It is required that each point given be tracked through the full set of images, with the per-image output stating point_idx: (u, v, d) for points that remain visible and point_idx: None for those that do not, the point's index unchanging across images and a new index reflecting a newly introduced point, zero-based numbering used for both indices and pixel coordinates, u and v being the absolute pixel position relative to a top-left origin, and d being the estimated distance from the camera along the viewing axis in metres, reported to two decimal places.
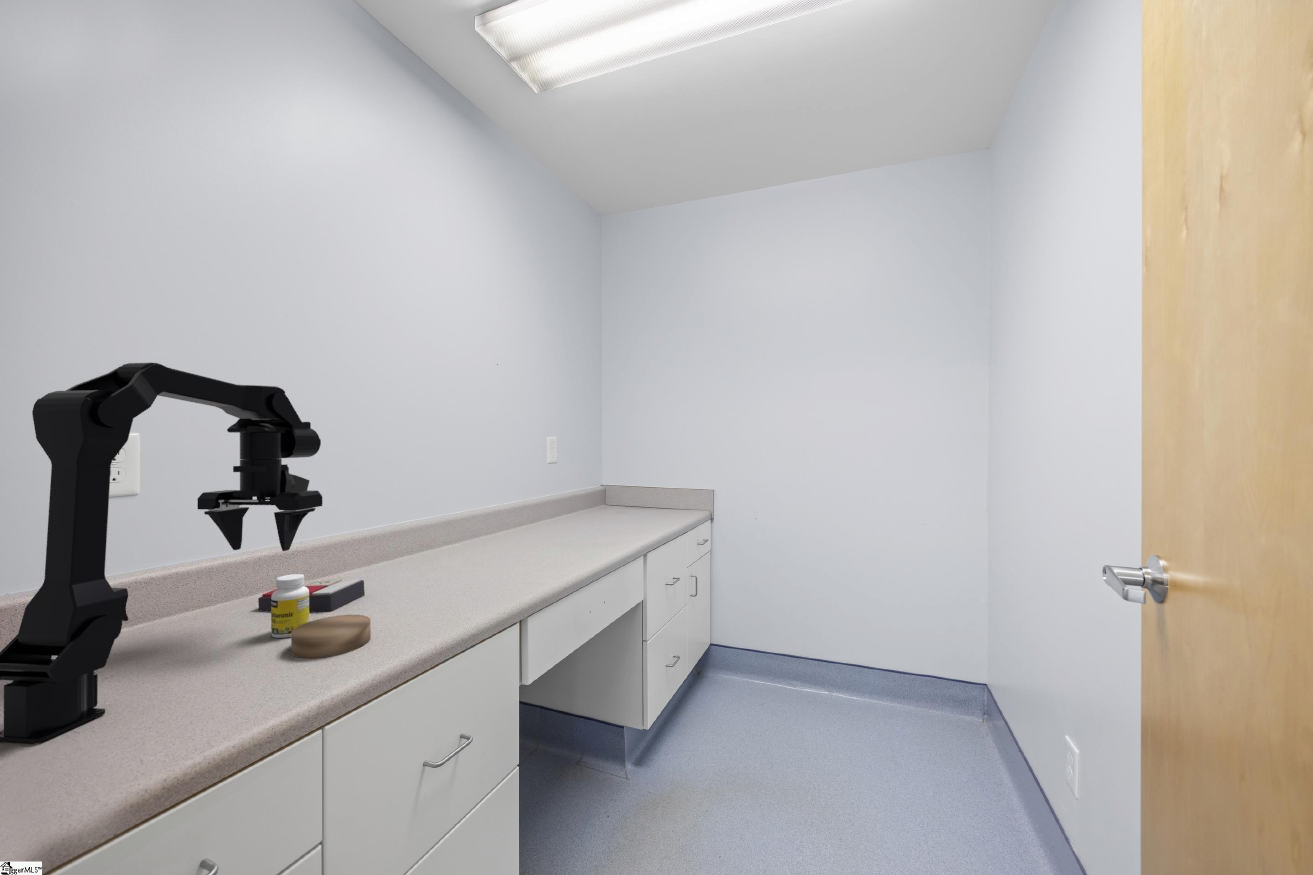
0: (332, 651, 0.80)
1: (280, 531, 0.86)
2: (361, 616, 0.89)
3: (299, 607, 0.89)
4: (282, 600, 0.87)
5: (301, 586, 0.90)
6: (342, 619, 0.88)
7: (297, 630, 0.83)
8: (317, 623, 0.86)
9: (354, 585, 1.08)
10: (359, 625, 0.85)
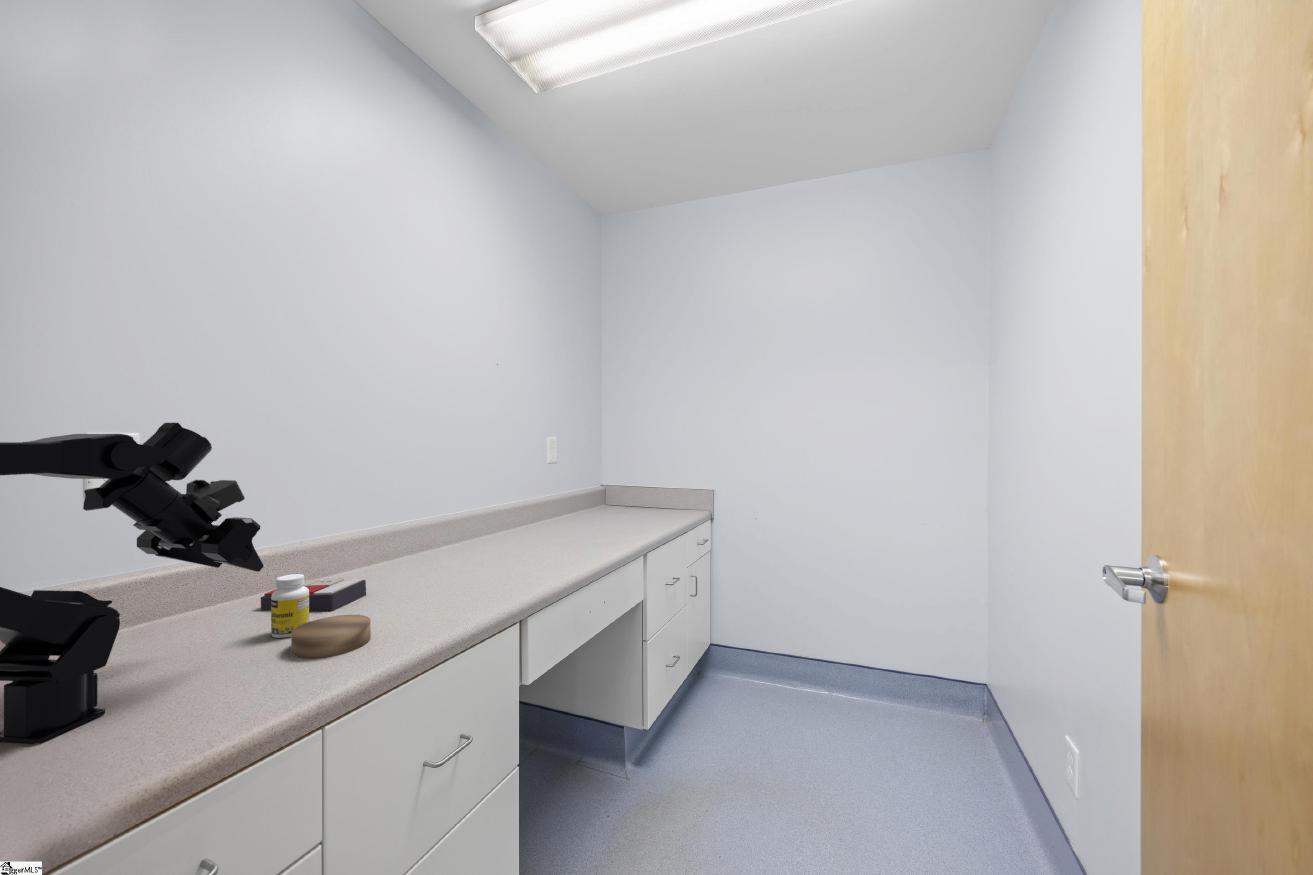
0: (332, 651, 0.80)
1: (237, 566, 0.77)
2: (361, 616, 0.89)
3: (299, 607, 0.89)
4: (282, 600, 0.87)
5: (301, 586, 0.90)
6: (342, 619, 0.88)
7: (297, 630, 0.83)
8: (317, 623, 0.86)
9: (356, 585, 1.08)
10: (359, 625, 0.85)
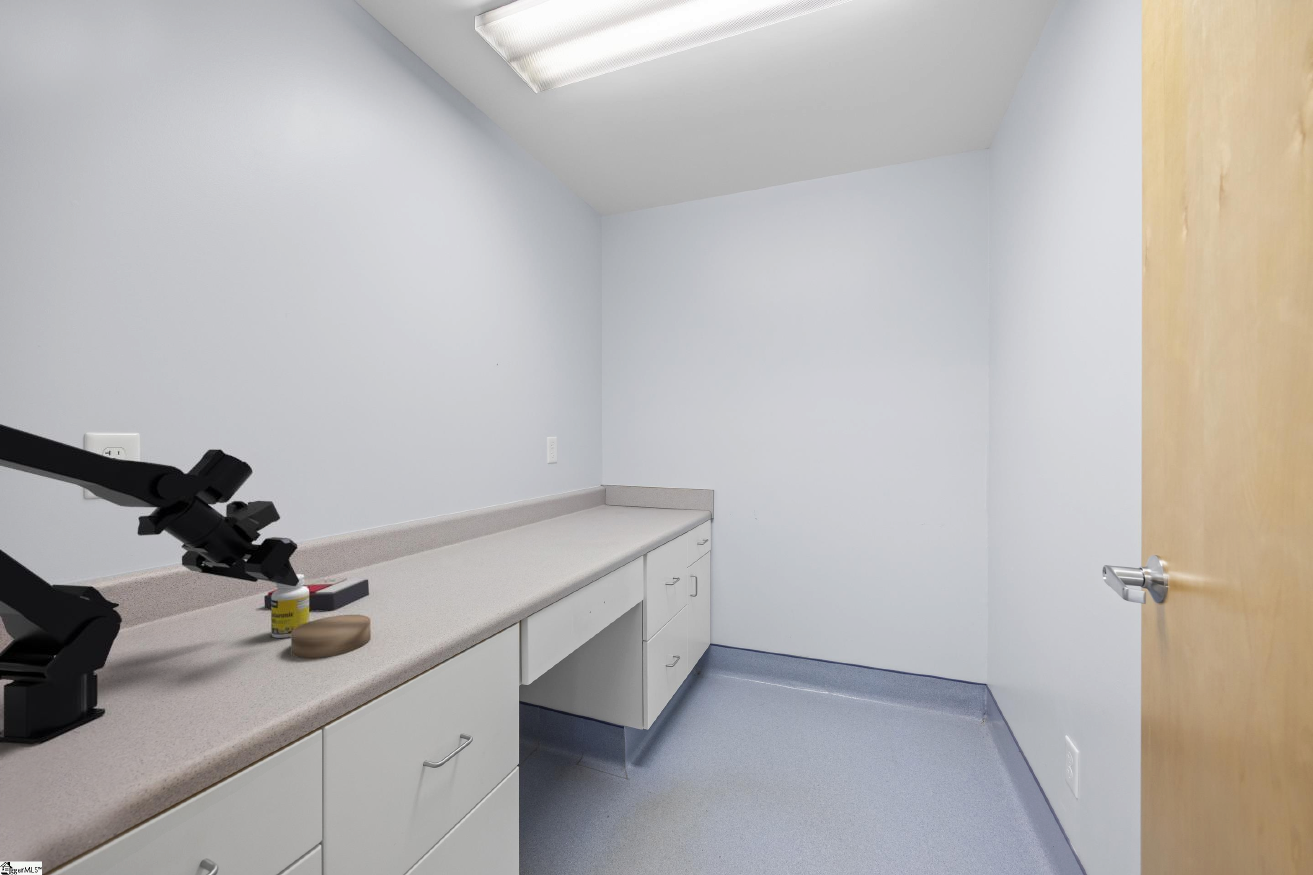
0: (332, 651, 0.80)
1: (276, 582, 0.82)
2: (361, 616, 0.89)
3: (300, 607, 0.89)
4: (282, 600, 0.87)
5: (301, 586, 0.90)
6: (342, 619, 0.88)
7: (297, 630, 0.83)
8: (317, 623, 0.86)
9: (358, 584, 1.09)
10: (359, 625, 0.85)
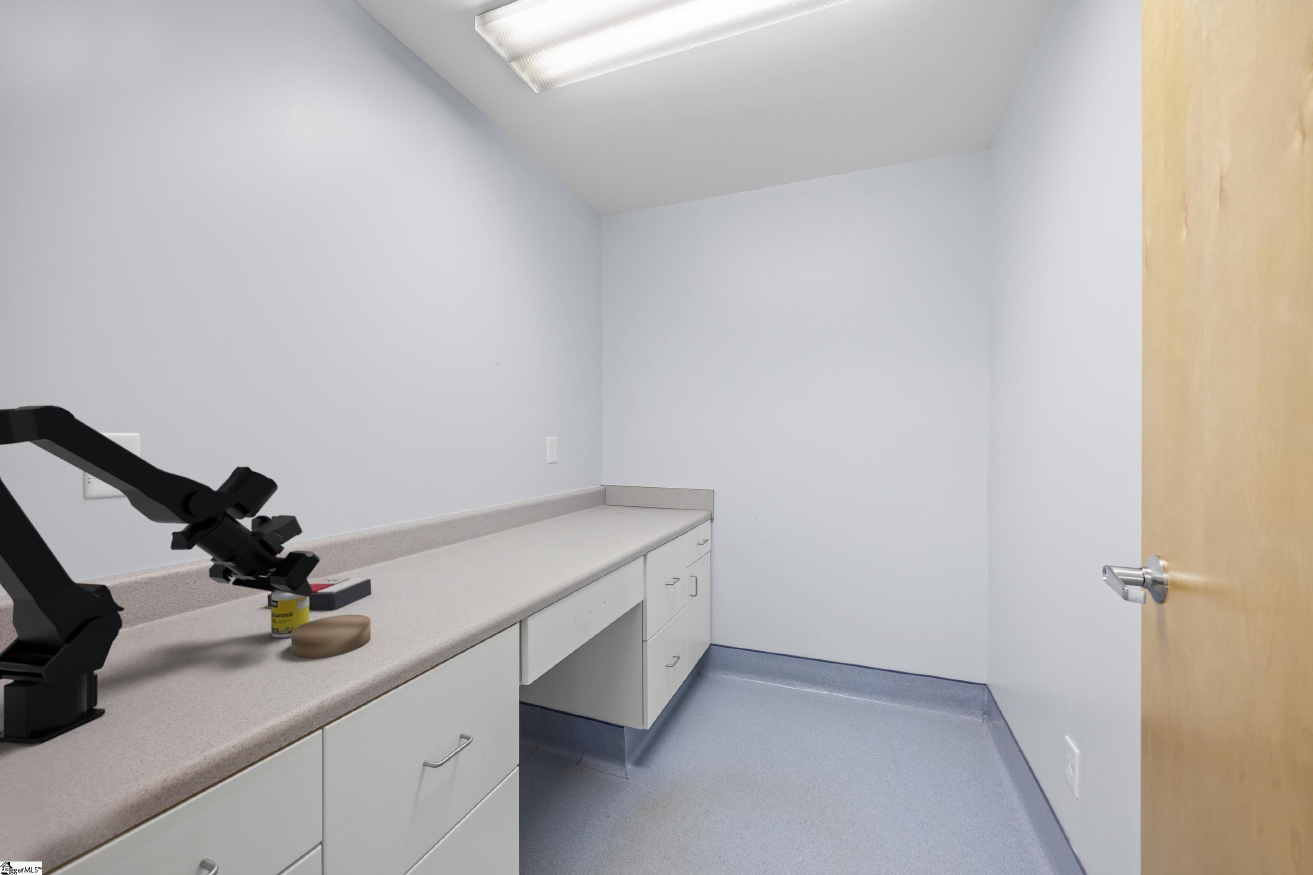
0: (332, 651, 0.80)
1: (291, 593, 0.86)
2: (361, 616, 0.89)
3: (300, 607, 0.89)
4: (282, 600, 0.87)
5: None
6: (342, 619, 0.88)
7: (297, 630, 0.83)
8: (317, 623, 0.86)
9: (360, 584, 1.09)
10: (359, 625, 0.85)
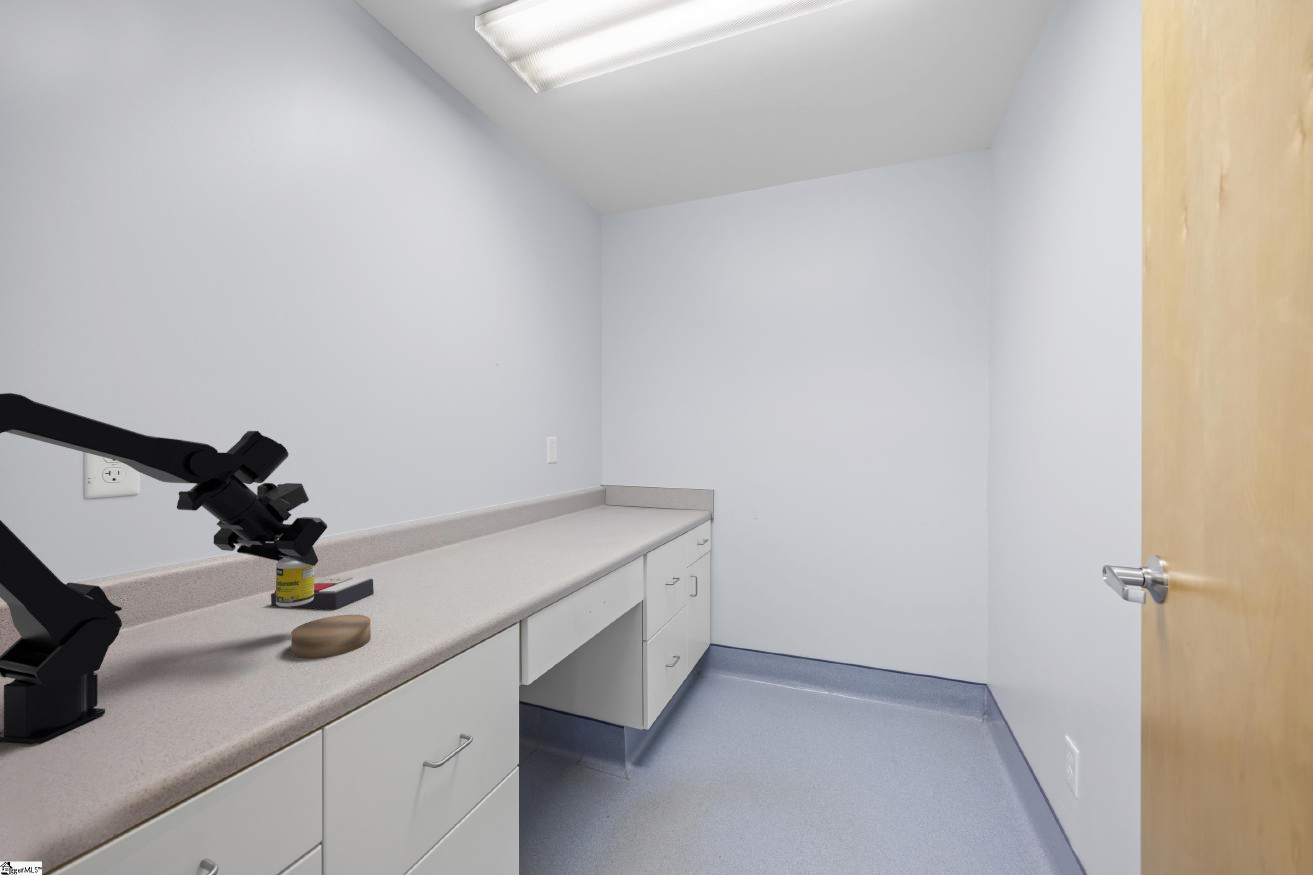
0: (332, 651, 0.80)
1: (297, 560, 0.85)
2: (361, 616, 0.89)
3: (305, 576, 0.88)
4: (288, 568, 0.86)
5: None
6: (342, 619, 0.88)
7: (297, 630, 0.83)
8: (317, 623, 0.86)
9: (362, 584, 1.09)
10: (359, 625, 0.85)
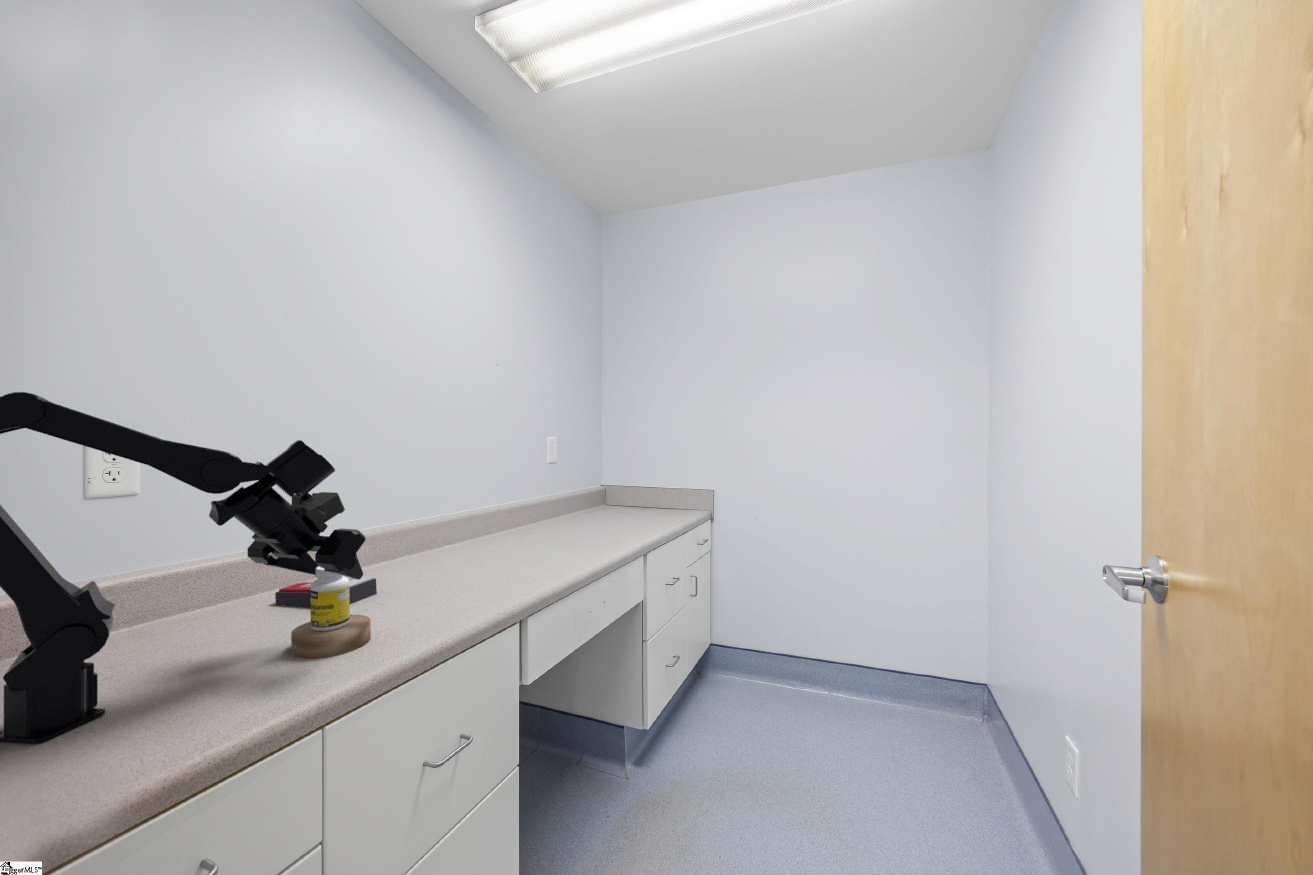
0: (332, 651, 0.80)
1: (343, 575, 0.81)
2: (361, 616, 0.89)
3: (340, 599, 0.83)
4: (322, 591, 0.82)
5: (341, 576, 0.85)
6: None
7: (297, 630, 0.83)
8: None
9: (364, 583, 1.10)
10: (359, 625, 0.85)
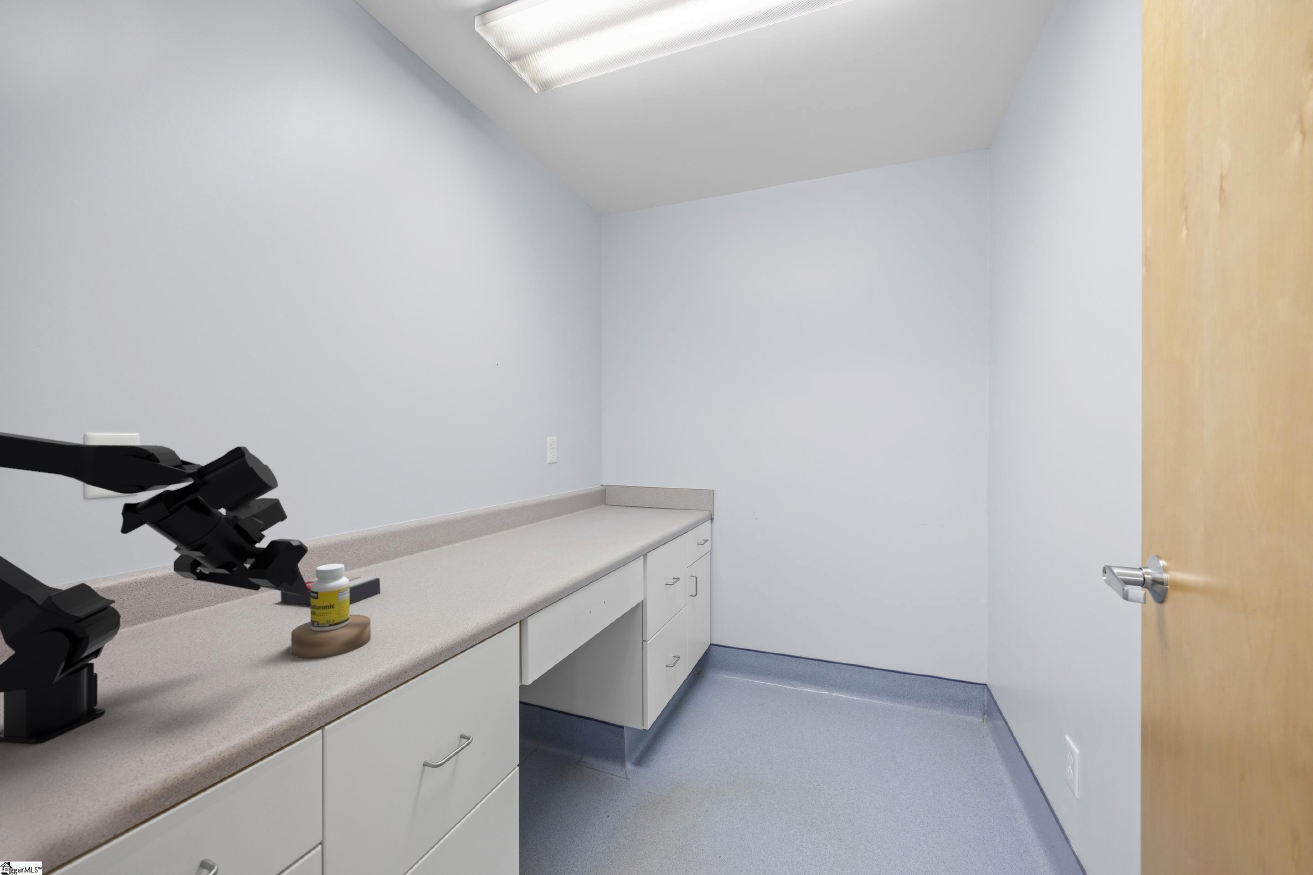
0: (332, 651, 0.80)
1: (283, 591, 0.72)
2: (361, 616, 0.89)
3: (341, 599, 0.83)
4: (323, 591, 0.82)
5: (342, 576, 0.85)
6: None
7: (297, 630, 0.83)
8: None
9: (368, 583, 1.10)
10: (359, 625, 0.85)
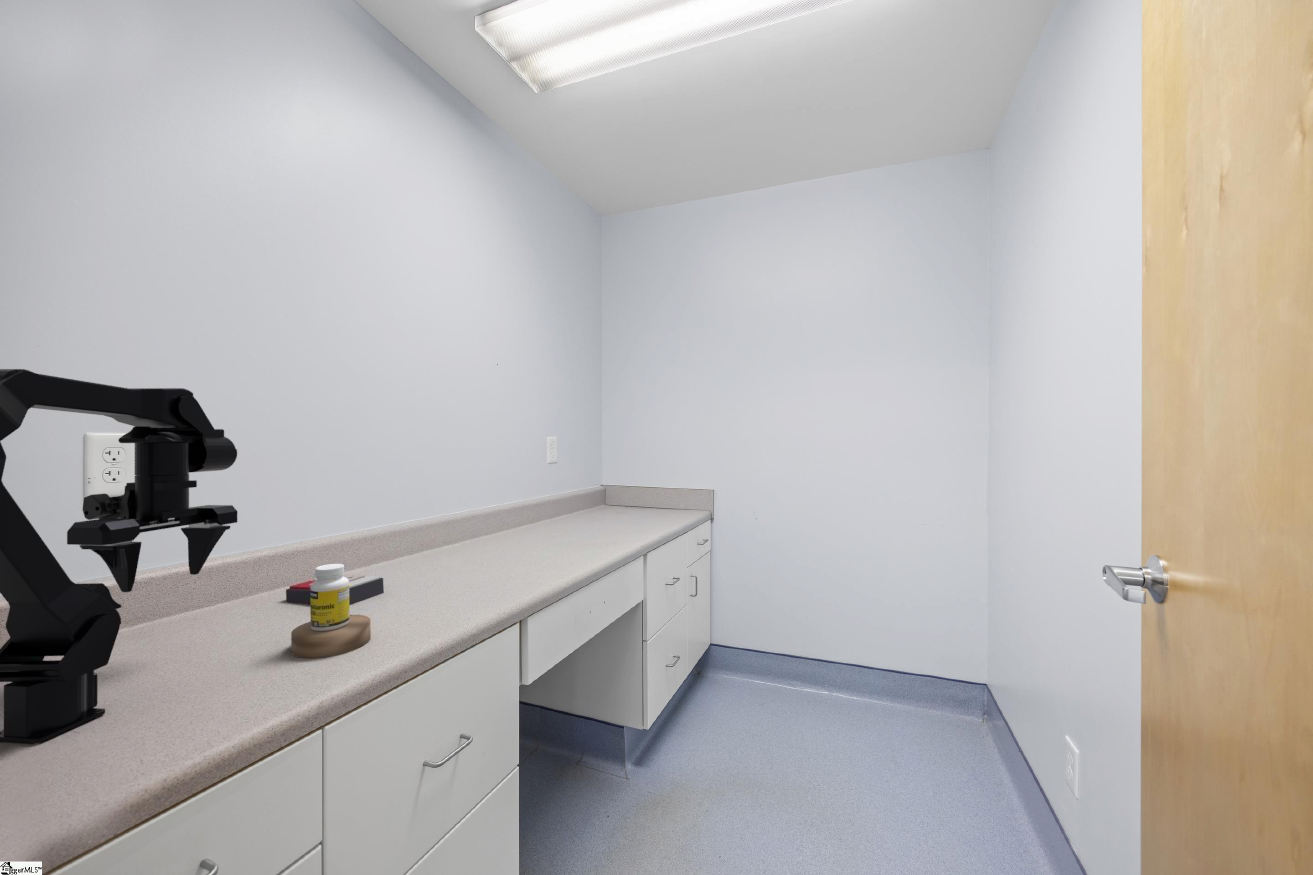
0: (332, 651, 0.80)
1: (209, 550, 0.80)
2: (361, 616, 0.89)
3: (341, 598, 0.83)
4: (322, 591, 0.82)
5: (341, 576, 0.85)
6: None
7: (297, 630, 0.83)
8: None
9: (371, 582, 1.10)
10: (359, 625, 0.85)
